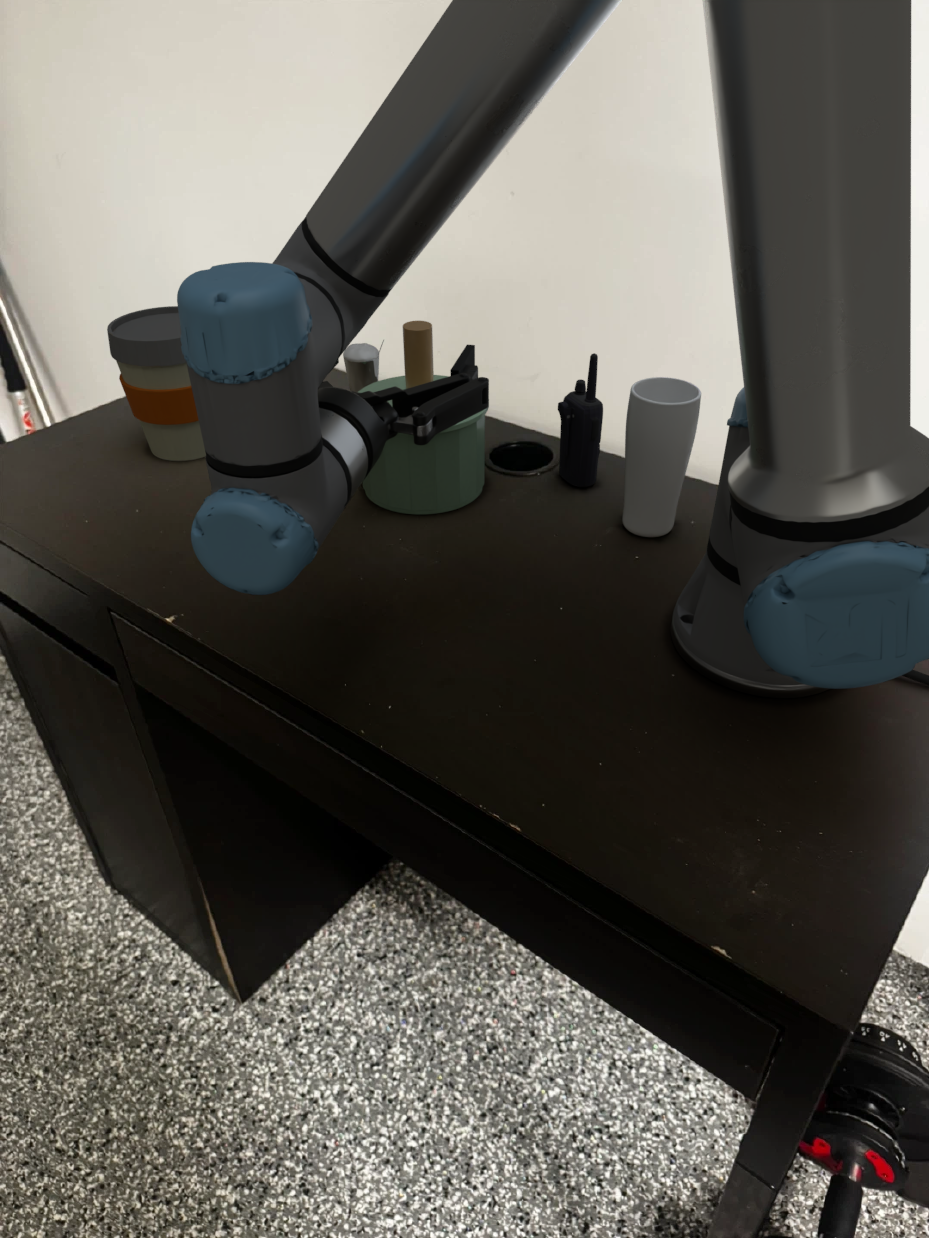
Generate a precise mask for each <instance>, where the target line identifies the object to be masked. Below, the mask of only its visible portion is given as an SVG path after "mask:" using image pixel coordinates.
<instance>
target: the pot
mask: <svg viewBox="0 0 929 1238" xmlns="http://www.w3.org/2000/svg"><path fill="white" fill-rule="evenodd" d="M485 437H486V414H485V415H484V416H483V417H482V418H481V419H480V420H478V421H477V422H475V423H473V424H471V425H469V426H466V427H464V428H460V429H457V430H453V431H449V432H444V433H438V434H436V435H435V436H434V437H433V438H432V439H431V441H430V442H429V443H428V444H426V445H416V444H414V436H413V435H408V434H397V435H396V436H395V437H393V438H391V439H389V440H387V441H386V443H385V446H384V448H383V451H382V453H381V455H380V457H379V459H378V460H377V462H376V463H375V465H374V466H373V468H372V469H371V471H370V472H369V474H368V475H367V477H366V478H365V479H364V480H363V481H362V488H363V490H364V493H365V495H366V498H368V499H369V500H370V502H372V503H374V504H375V505H377V506H378V507H380V508H383V509H385V510H388V511H391V512H396V513H399V514H407V515H435V514H442V513H448V512H451V511H455V510H457V509H460V508H463V507H466V506H467V505H470V504H471V503H473V502H474V501H475V500H477V498H478V497H479V496H480V495H481V494H482V492H483V489H484V486H485V471H486V470H485V469H486V467H485V465H486V464H485V460H486V459H485V458H486V457H485V455H486V454H485V453H486V451H485V450H486V449H485V448H486V445H485V443H486V438H485Z"/></svg>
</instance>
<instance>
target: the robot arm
mask: <svg viewBox="0 0 929 1238" xmlns="http://www.w3.org/2000/svg"><path fill="white" fill-rule="evenodd" d="M622 1H623V0H452V1H451V2H450V3H449V5H448V6H447V7H446V9H445V11H444V12H443V13H442V14H441V16H440V18H439V20H438V21H437V22H436V24H435V25H434V27H433V28H432V29H431V31H430V33H428V35H427V36H426V39H425V40H424V42H423V43H422V44H421V46H420V47H419V48H418V50H417V51H416V53H415V55H413V57H412V59H411V60H410V62H409V63H408V64H407V66H406V68H405V69H404V70H403V72H402V74H401V75H400V77H398V80H397V81H396V83H395V84H394V86H393V87H392V88H391V90H390V91H389V93H388V94H387V96H386V97H385V98H384V100H383V101H382V103H381V105H380V106H379V107H378V109H377V110H376V112H375V113H374V115H373V117H371V119H370V121H369V122H368V124H367V125H366V126H365V128H364V129H363V131H362V133H361V134H360V136H359V137H358V138H357V140H356V141H355V142H354V144H353V146H351V149H350V150H349V152H348V153H347V154H346V156H345V157H344V158H343V160H342V162H341V163H340V165H339V166H338V167H337V169H336V171H335V172H334V174H332V176H331V178H330V179H329V181H328V182H327V184H326V185H325V186H324V188H323V190H322V191H321V192H320V194H319V196H318V197H317V199H316V200H315V202H313V204H312V206H310V207H311V208H310V209H309V210H308V211H307V213H306V214H305V217H304V218H303V219H302V221H301V222H300V223H299V224H298V225H297V227H296V228H295V230H294V231H293V233H292V234H291V236H290V237H289V238H288V240H287V241H286V242H285V245H284V246H283V247H282V249H281V250H280V252H279V253H278V255H277V256H276V258H275V259H274V260H273V262H272V263H270V262H263V261H262V262H261V261H259V262H258V261H241V262H239V261H238V262H228V263H221V264H216V265H212V266H211V267H210V268H209V269H208V268H207V269H201V270H198V271H195V272H193V273H191V274H189V275H188V276H187V277H186V278H184V280H182V282H181V284H180V285H179V288H178V290H177V294H176V303H177V306H178V311H179V319H180V326H181V339H180V340H181V344H182V346H181V350H182V353H183V355H184V359H185V360H186V364H187V368H188V373H189V378H190V382H191V387H192V392H193V396H194V401H195V406H196V410H197V415H198V420H199V424H200V429H201V434H202V438H203V443H204V448H205V452H206V456H205V457H204V458H205V464H206V468H207V474H208V478H209V482H210V489H211V491H210V492H211V493H210V494H209V495H207V496H206V497H205V498H204V499H203V502H202V504H201V505H200V507H199V510H198V511H197V512H196V513H195V516H194V518H193V521H192V523H191V529H190V541H191V542H190V543H191V546H192V550H193V552H194V554H195V556H196V558H197V560H198V561H199V563H200V564H201V566H202V567H203V568H204V570H205V571H206V572H207V573H208V574H209V575H210V576H211V577H212V578H213V579H214V580H216V581H217V582H218V583H219V584H222V585H223V586H224V587H227V588H228V589H231V590H233V591H235V592H239V593H242V594H248V595H252V596H266V595H272V594H276V593H279V592H280V591H283V590H284V589H285V588H287V587H289V586H290V585H291V584H292V583H293V582H294V581H295V580H296V578H297V577H298V576H299V575H300V573H301V572H302V571H303V570H304V569H305V568H306V566H308V565H310V564H311V563H312V562H313V560H315V559H316V555H317V554H318V551H319V550H320V548H321V546H322V544H323V543H324V541H325V540H326V538H327V537H328V535H329V534H330V532H331V531H332V529H333V527H334V526H335V525H336V523H337V521H338V520H339V518H340V517H341V515H342V514H343V512H344V511H345V508H346V507H347V506H348V504H349V503H350V501H351V499H352V498H353V497H354V495H355V493H356V492H357V491H358V489H359V488H360V486H361V485H362V484H363V480H364V479H365V478H366V477H367V475H368V474H369V472H370V471H371V469H372V468H373V466H374V465H375V463H376V462H377V460H378V459H379V457H380V455H381V453H382V451H383V448H384V446H385V443H386V441H387V440H389V439H391V438H393V437H395V436H396V435H397V434H398V433H403V434H410V435H413V436H414V444H416V445H426V444H428V443H429V442H430V441H431V439H432V438H433V437H434V436H435V435H436V434H438V433H440V432H442V431H444V430H446V429H448V428H450V427H451V426H453V425H455V424H457V423H459V422H461V421H463V420H465V419H467V418H469V417H471V416H473V415H475V414H477V413H479V412H481V411H482V410H484V409H486V408H488V407H489V408H490V379H489V378H488V377H484V376H480V377H479V366H478V365H477V364H476V345H475V344H466V345H465V347H464V348H463V350H462V351H461V352H460V354H459V356H458V357H457V359H456V361H454V364H453V365H452V367H451V368H450V370H449V371H450V372H449V373H450V375H448V376H449V377H446V378H442V379H439V380H435V381H432V382H428V383H425V384H421V385H418V386H414V387H411V388H407V389H404V390H402V389H400V388H398V387H396V386H395V387H391V388H387V389H384V390H380V391H377V392H371V391H366V392H363V393H358V392H354V391H350V389H349V390H348V389H346V388H342V387H337V386H336V387H335V386H333V385H332V384H331V382H329V381H328V380H325V379H326V378H327V377H328V375H329V374H330V373H331V372H332V371H333V370H334V369H335V368H336V366H337V365H339V362H340V360H339V359H340V357H341V356H343V353H344V351H345V349H346V348H347V347H348V346H349V345H351V344H352V342H353V340H355V338H356V337H357V336H358V335H359V333H360V332H361V331H362V330H363V328H364V327H365V326H366V324H367V323H368V322H369V320H370V319H371V317H372V316H373V315H374V314H375V312H376V311H377V310H378V309H379V307H380V306H381V304H382V303H383V302H384V301H385V299H386V298H387V297H388V296H389V294H390V292H391V291H392V290H393V288H394V287H395V286H396V285H397V284H398V282H399V281H400V280H401V278H402V277H403V276H404V275H405V274H406V272H407V271H408V270H409V269H410V267H411V266H412V265H413V263H414V262H415V261H416V260H417V259H418V257H419V256H420V255H421V253H422V252H423V251H424V250H425V248H426V247H427V246H428V245H429V243H430V242H431V241H432V239H433V238H434V237H435V236H436V235H437V233H438V232H439V231H440V230H441V228H442V227H443V226H444V225H445V223H446V222H447V221H448V219H449V218H450V217H451V216H452V214H454V212H455V211H456V209H458V207H459V206H460V205H461V204H462V202H463V200H465V198H466V197H467V196H468V195H469V193H470V192H471V191H472V189H473V188H474V187H475V186H476V184H477V183H478V182H479V181H480V179H481V178H482V177H483V176H484V174H485V173H486V172H487V171H488V170H489V168H490V167H491V166H492V165H493V163H494V162H495V161H496V159H497V158H498V157H499V156H500V154H501V153H502V152H503V151H504V149H505V148H507V146H508V144H509V143H510V141H512V139H513V138H514V137H515V136H516V135H517V133H519V131H520V129H521V128H522V127H523V126H524V124H525V123H526V122H527V121H528V119H529V118H530V116H532V114H533V113H534V112H535V110H536V109H537V108H538V107H539V105H540V104H541V103H542V102H543V101H544V100H545V98H546V96H548V94H549V93H550V91H552V90H553V88H554V86H555V85H556V84H557V83H558V82H559V80H560V79H561V77H563V75H564V74H565V73H566V71H568V69H569V68H570V67H571V66H572V64H573V63H574V62H575V60H576V59H577V58H578V57H579V55H580V54H581V53H582V52H583V50H584V49H585V48H586V47H587V45H588V44H589V43H590V41H591V40H592V39H593V38H594V37H595V35H596V34H597V33H598V32H599V30H600V29H601V28H602V27H603V25H604V24H605V23H606V21H607V20H608V19H609V18H610V16H611V15H612V14H613V13H614V12H615V10H616V9H617V8H618V6H619V5H620V4H621V3H622ZM702 8H703V19H704V27H705V35H706V46H707V54H708V55H707V56H708V65H709V73H710V74H709V75H710V84H711V92H712V102H713V111H714V121H715V129H716V138H717V148H718V149H717V150H718V158H719V166H720V176H721V186H722V194H723V203H724V204H723V205H724V213H725V214H724V215H725V221H726V232H727V233H726V234H727V242H728V250H729V259H730V270H731V280H732V287H733V288H732V289H733V297H734V305H735V306H734V307H735V316H736V325H737V335H738V344H739V354H740V363H741V372H742V381H743V387H742V388H741V389H740V390H739V391H738V393H737V394H736V396H735V399H734V403H733V407H732V411H731V414H730V418H727V421H726V426H728V429H727V436H726V442H725V447H724V453H723V458H722V463H721V469H720V475H719V480H718V484H717V491H716V497H715V501H714V506H713V512H712V518H711V524H710V529H709V535H708V540H707V544H706V545H707V546H706V551H705V554H704V555H703V557H702V559H701V560H700V562H699V564H698V565H697V567H696V568H695V570H694V572H693V573H692V575H691V577H690V578H689V580H688V581H687V583H686V585H685V586H684V588H683V590H682V591H681V593H680V595H678V598H677V600H676V603H675V606H674V608H673V612H672V617H671V624H670V637H671V640H672V644H673V646H674V648H675V649H676V651H677V653H678V654H679V656H680V657H681V658H682V659H683V661H685V662H686V663H687V664H688V665H689V666H690V667H691V668H692V669H694V670H695V671H696V672H698V673H699V674H700V675H702V676H704V677H705V678H707V679H708V680H710V681H712V682H714V683H717V684H719V685H721V686H723V687H725V688H728V689H731V690H734V691H737V692H740V693H743V694H747V695H752V696H756V697H757V696H758V697H764V698H772V699H795V698H796V699H797V698H803V697H804V698H805V697H810V696H814V695H818V694H821V693H824V692H826V691H828V690H831V689H833V690H835V689H836V690H843V689H846V690H847V689H857V688H865V687H869V686H874V685H878V684H882V683H885V682H888V681H891V680H894V679H896V678H899V677H904V678H907V679H910V680H911V681H912V680H913V681H915V682H918V683H920V684H924V685H926V686H929V674H926V673H923V672H920V671H917V670H915V667H916V665H917V664H920V663H921V662H924V661H927V660H929V437H928V436H927V435H926V434H924V433H922V432H921V431H919V430H918V429H917V428H915V427H913V426H911V393H912V392H911V391H912V390H911V385H912V384H911V383H912V382H911V372H912V371H911V370H912V369H911V367H912V366H911V365H912V363H911V360H912V359H911V357H912V355H911V353H912V352H911V349H912V348H911V347H912V346H911V345H912V344H911V341H912V340H911V339H912V335H911V334H912V333H911V332H912V330H911V329H912V328H911V325H912V324H911V323H912V320H911V317H912V310H911V309H912V305H911V304H912V295H911V294H912V0H702ZM389 400H392V406H393V407H392V406H391V405H390V404H389V403H388V401H389ZM489 408H488V409H489Z"/></svg>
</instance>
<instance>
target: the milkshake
mask: <svg viewBox="0 0 929 1238" xmlns="http://www.w3.org/2000/svg"><path fill="white" fill-rule="evenodd" d="M384 342H385V339H383V340H382V342H381V345H380V348H379V349H378V348H377V347H376V346H375V345H373V344H369V343H367V342H362V343H361V342H360V343H350V344H349V345H348V347H347V348H346V349H345V351H344V352H343V353H342V357H343V362H344V369H345V372H346V377H347V382H348V387H349V391H354V392H358V391H360V390H361V389H362V388H364V387H366V386H368V385H370V384H372V383H375V382H377V381H379V374H380V373H379V371H380V353H381V350H382V347H383V344H384Z"/></svg>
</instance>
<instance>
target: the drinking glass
mask: <svg viewBox="0 0 929 1238" xmlns="http://www.w3.org/2000/svg"><path fill="white" fill-rule="evenodd" d="M701 400H702V391H701V389H700V388H699V386H697V385H695V384H694V383H692V382H689V381H687V380H684V379H680V378H675V377H668V376H667V377H666V376H665V377H664V376H655V377H654V376H653V377H645V378H642V379H639V380H637V381H636V382H634V383H633V384H632V385H631V387H630V390H629V397H628V403H627V411H626V418H625V432H624V433H625V435H624V486H623V507H622V508H623V509H622V516H621V517H622V519H621V521H622V524H623V527H624V528H625V529H626V530H627V531H628V532H630V533H631V534H633V535H635V536H639V537H642V538H659V537H663V536H665V535H667V534H670V532H671V531H672V530H673V528H674V527H675V526H674V525H675V521H676V515H677V510H678V505H679V502H680V497H681V494H682V490H683V485H684V481H685V478H686V473H687V469H688V466H689V462H690V458H691V454H692V450H693V447H694V443H695V438H696V434H697V429H698V423H699V417H700V409H701Z"/></svg>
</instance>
